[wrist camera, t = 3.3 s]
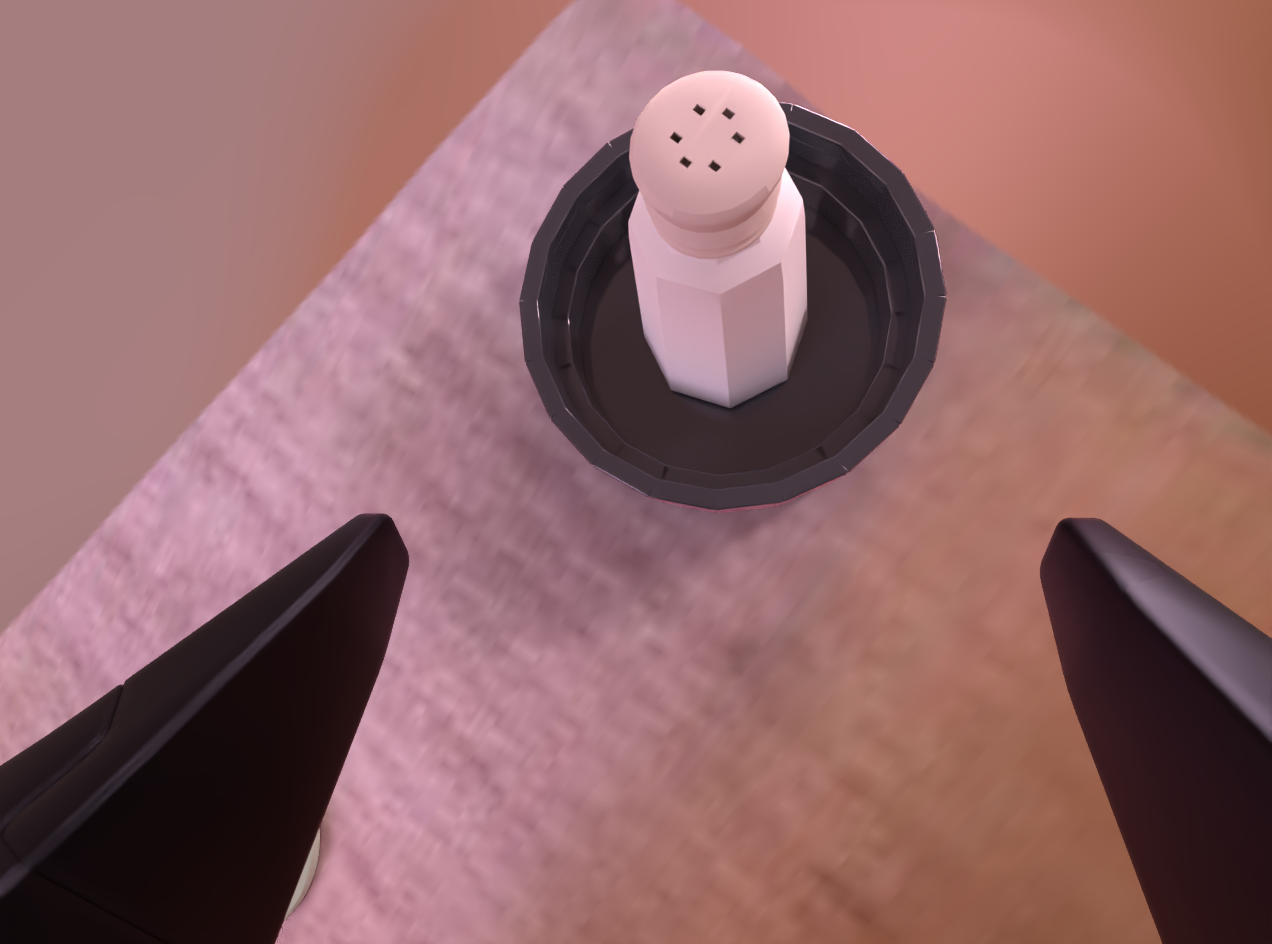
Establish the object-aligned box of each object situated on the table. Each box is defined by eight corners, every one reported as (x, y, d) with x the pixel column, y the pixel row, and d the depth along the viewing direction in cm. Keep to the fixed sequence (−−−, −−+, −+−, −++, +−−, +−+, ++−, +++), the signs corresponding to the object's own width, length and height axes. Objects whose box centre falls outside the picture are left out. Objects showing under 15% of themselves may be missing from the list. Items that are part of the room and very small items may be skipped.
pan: (941, 183, 22) (979, 118, 18) (876, 545, 21) (902, 548, 18) (591, 147, 24) (565, 83, 20) (521, 474, 23) (483, 464, 20)
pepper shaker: (732, 442, 22) (722, 355, 11) (613, 341, 23) (494, 169, 12) (842, 318, 21) (943, 102, 11) (717, 221, 22) (692, -66, 12)
